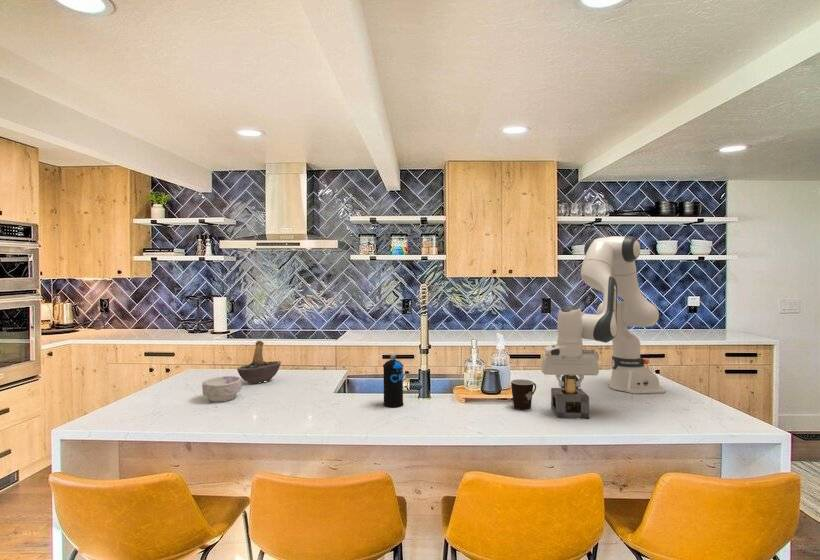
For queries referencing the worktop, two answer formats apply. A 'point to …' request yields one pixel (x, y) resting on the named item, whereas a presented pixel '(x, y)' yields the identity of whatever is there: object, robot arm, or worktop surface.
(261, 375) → the mortar and pestle
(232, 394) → the grey stone bowl
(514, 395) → the coffee mug
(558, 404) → the collar stand
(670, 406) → the worktop surface
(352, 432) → the worktop surface
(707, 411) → the worktop surface
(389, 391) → the aerosol can
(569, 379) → the brass tube
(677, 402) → the worktop surface
